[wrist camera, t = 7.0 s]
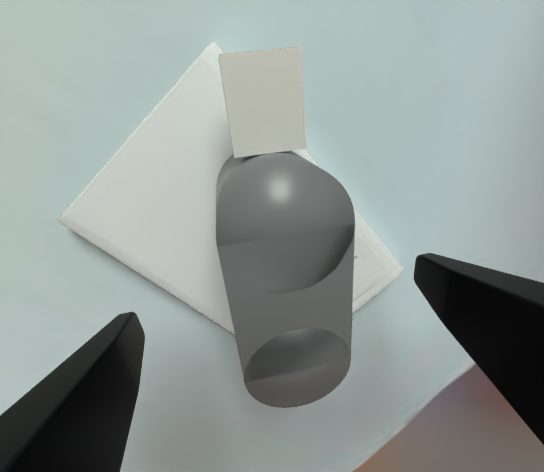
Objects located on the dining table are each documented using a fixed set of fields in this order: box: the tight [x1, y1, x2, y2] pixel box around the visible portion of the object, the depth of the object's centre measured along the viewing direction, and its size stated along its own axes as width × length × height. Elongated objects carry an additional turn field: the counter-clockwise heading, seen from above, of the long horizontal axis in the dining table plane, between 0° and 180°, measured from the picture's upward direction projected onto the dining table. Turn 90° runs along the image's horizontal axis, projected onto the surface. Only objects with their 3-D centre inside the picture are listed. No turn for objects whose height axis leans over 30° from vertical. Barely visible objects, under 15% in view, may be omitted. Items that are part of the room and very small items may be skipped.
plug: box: [216, 47, 355, 408], centre depth 10 cm, size 14×4×4 cm, turn 6°
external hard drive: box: [58, 42, 403, 335], centre depth 13 cm, size 2×8×12 cm
